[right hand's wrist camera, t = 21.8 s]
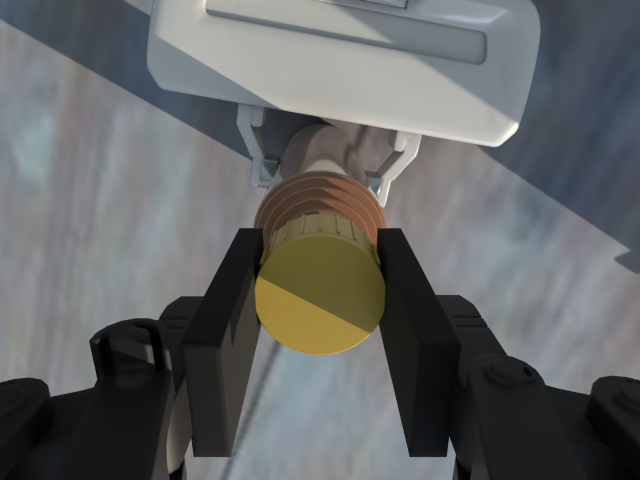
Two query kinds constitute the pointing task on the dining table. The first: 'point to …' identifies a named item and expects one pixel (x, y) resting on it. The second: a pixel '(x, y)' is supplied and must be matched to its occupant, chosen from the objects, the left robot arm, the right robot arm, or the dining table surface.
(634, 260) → the dining table surface
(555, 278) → the dining table surface
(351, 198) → the bottle
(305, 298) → the cap
